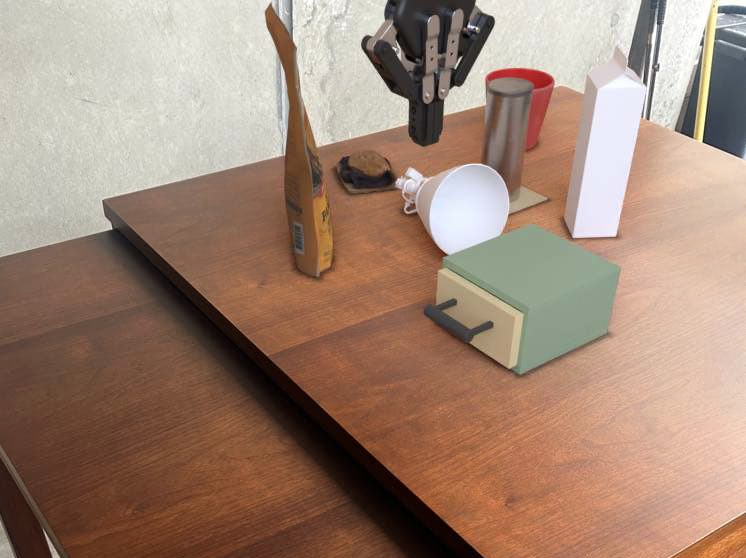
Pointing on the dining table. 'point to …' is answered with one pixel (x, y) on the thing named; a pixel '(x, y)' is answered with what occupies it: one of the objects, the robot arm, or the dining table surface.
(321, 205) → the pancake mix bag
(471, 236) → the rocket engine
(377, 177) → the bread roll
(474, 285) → the drawer
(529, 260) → the cabinet
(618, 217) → the milk
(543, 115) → the flower pot
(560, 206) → the dining table surface
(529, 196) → the mat
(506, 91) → the silver tall cylinder
